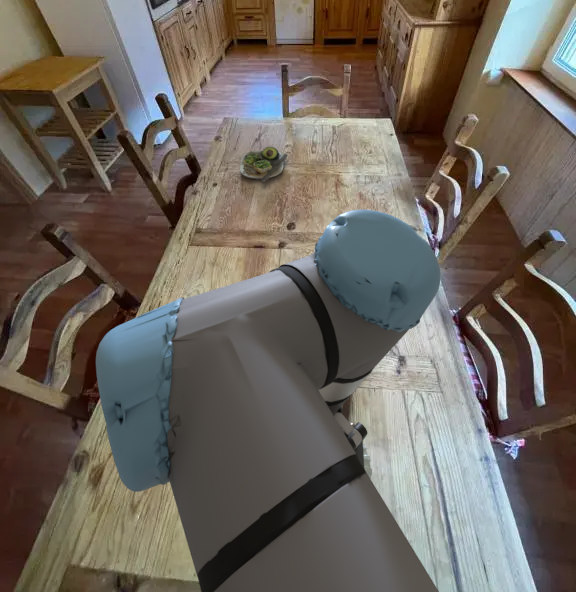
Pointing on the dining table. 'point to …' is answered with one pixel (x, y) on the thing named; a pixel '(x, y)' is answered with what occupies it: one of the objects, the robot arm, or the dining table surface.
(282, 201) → the dining table surface
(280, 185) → the dining table surface
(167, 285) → the dining table surface
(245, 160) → the avocado toast plate
